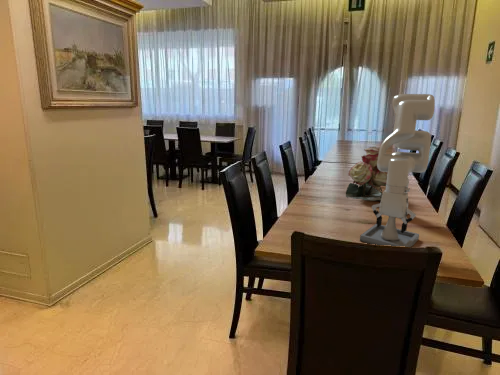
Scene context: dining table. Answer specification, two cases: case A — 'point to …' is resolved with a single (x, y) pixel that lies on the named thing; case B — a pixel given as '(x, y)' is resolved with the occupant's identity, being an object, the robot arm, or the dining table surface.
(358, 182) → the rose bouquet
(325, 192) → the dining table surface
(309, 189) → the dining table surface
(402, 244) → the serving tray
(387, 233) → the flask
